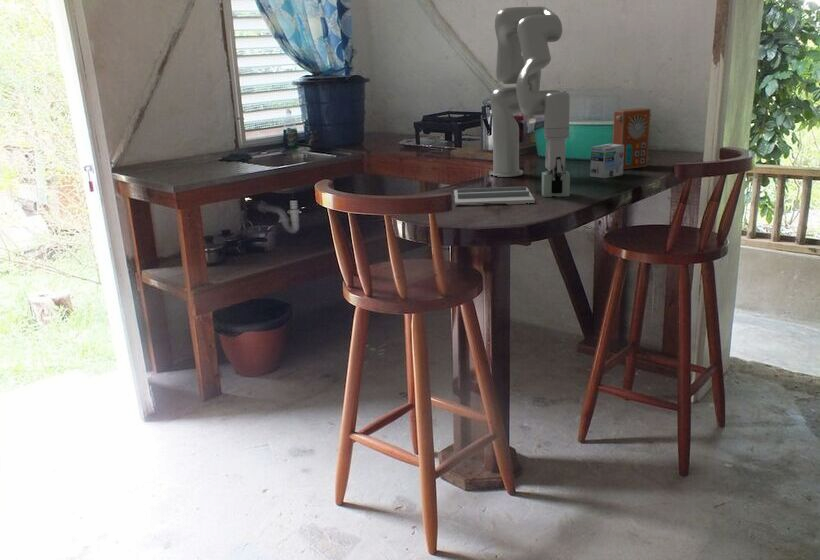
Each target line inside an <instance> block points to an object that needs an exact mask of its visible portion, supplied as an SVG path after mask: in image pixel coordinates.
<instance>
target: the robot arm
mask: <svg viewBox="0 0 820 560" xmlns="http://www.w3.org/2000/svg"><path fill="white" fill-rule="evenodd" d="M494 30H495V35H496V40H497V53H496V66H495V67H496V69H495V73H496V74H495V75H496V81H497V82H498V83H500V84H503V85H514V84H515V85H516V86H505V87H498V88H496V89H493V91H492V92H491V94H490V97H489V105H490V109H491V111H490V112H491V117H492V144H493V145H492V153H493V154H492V157H493V158H492V162H493V163H492V165H493V166H492V168H493V170H492V169H491V170H489V173H488V175H489V176H491V175H493V176H492V177H495V176H497V177H498V178H513V177H514V178H515V177H519V176H522V175H524V171H523V170H522V169H520V126H519V123H518V121H517V120H516V119H515V117H514V116H513V115H517V114H523V115H524V116H525V117H531V116H532V117H533V116H534V117H535V116H544V123H543V125H544V128H543V129H544V132H543V137H544V138H543V139H544V140H545V139H546V143H545V145H546V146H545V160H544V161H545V162H544V164H545V165H544V166H545V169H547V171H553V181H552V193H562V171H563V170H565V168H566V139H569V138H570V107H571V106H570V104H571V97H570V93H568V92H567V91H560V90H558V89H557V90H556V89H551V90H550V89H549V90H547V89H546V90H540V88H541V79H542V78H541V77H542V70H543V69H544V68H546V67H547V66H548V65H549V64H550V62H551V60H552V55H551V53H550V48H549V43H555V42H558V41H559V40H560V39H561V37H562V34H563V25H562V20H561V19H560V17H559V16H558V15H557V14H556V13H555V12H553V11H552V10H550V9H549V8H547V7H544V6H513V7H511V6H510V7H505V8H501V9H500V10H499V11H498V12H497V13H496V15H495V19H494ZM555 173H556V174H555Z"/></svg>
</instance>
